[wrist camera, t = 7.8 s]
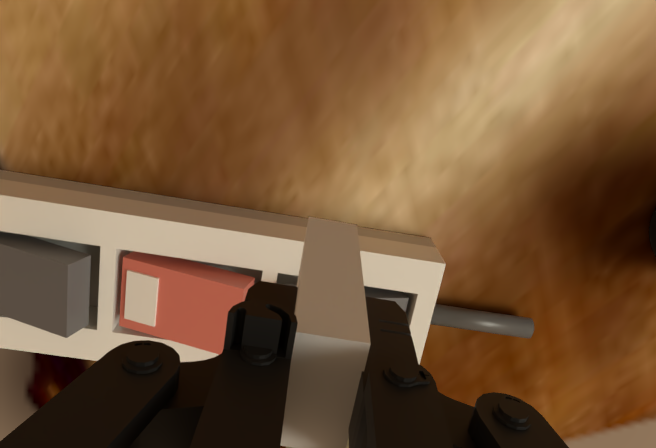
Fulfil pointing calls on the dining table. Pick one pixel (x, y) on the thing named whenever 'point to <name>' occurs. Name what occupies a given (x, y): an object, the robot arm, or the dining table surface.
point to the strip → (204, 258)
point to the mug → (653, 232)
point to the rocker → (44, 284)
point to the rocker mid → (179, 299)
